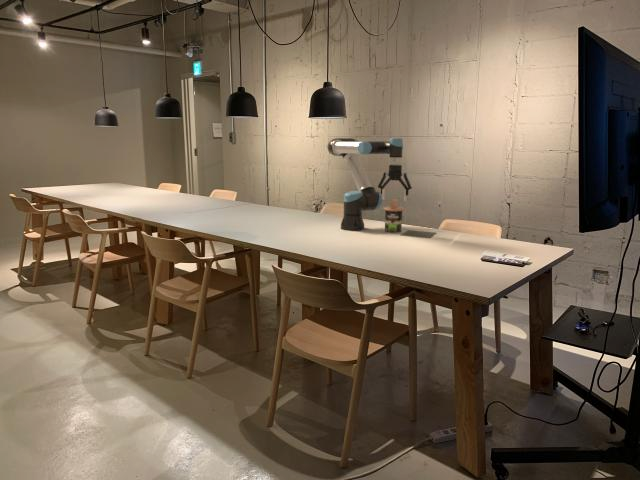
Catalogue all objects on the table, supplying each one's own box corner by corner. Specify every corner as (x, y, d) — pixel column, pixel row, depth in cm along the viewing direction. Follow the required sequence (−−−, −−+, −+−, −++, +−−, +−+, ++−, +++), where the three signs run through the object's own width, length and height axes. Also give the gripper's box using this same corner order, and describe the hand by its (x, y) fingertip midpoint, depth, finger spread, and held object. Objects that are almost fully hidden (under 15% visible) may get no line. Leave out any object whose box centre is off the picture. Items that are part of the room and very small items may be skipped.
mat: (399, 236, 279) (399, 235, 279) (408, 230, 295) (408, 230, 295) (430, 239, 272) (430, 238, 272) (437, 233, 288) (437, 232, 288)
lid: (380, 210, 284) (380, 200, 283) (386, 207, 296) (386, 197, 294) (401, 211, 279) (402, 201, 278) (407, 208, 291) (407, 199, 289)
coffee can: (400, 234, 284) (401, 211, 281) (383, 233, 287) (384, 210, 284) (402, 231, 294) (403, 208, 291) (385, 230, 296) (386, 208, 293)
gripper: (373, 164, 284) (372, 199, 288) (414, 165, 273) (412, 202, 278) (377, 163, 290) (376, 198, 295) (417, 164, 280) (416, 200, 284)
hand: (394, 200), depth 286 cm, fingers open, 13 cm apart
